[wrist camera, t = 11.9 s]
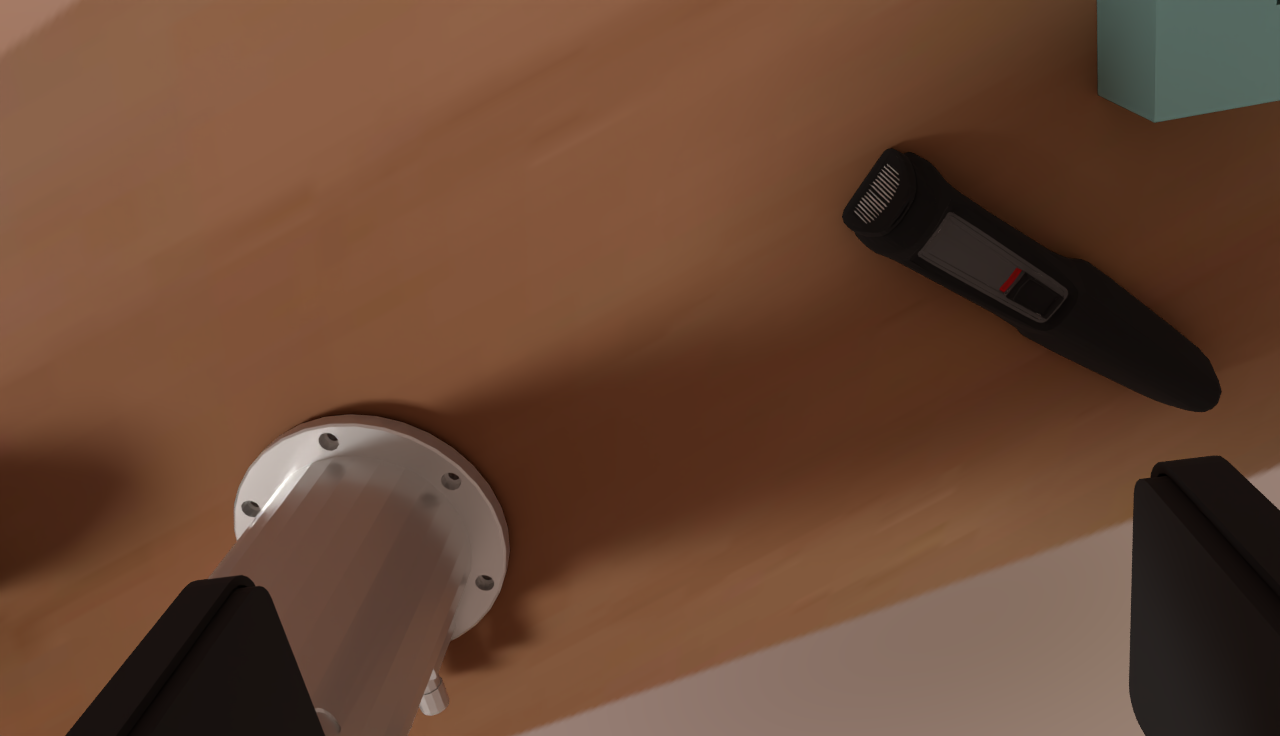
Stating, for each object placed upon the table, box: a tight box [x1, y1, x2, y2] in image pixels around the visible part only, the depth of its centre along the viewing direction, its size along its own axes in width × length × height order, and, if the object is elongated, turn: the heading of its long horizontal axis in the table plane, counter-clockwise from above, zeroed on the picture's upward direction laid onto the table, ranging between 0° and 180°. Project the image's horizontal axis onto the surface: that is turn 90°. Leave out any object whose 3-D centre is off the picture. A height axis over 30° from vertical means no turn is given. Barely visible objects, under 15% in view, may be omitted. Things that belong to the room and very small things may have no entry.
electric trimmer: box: [842, 148, 1221, 412], centre depth 36 cm, size 4×16×3 cm, turn 60°
